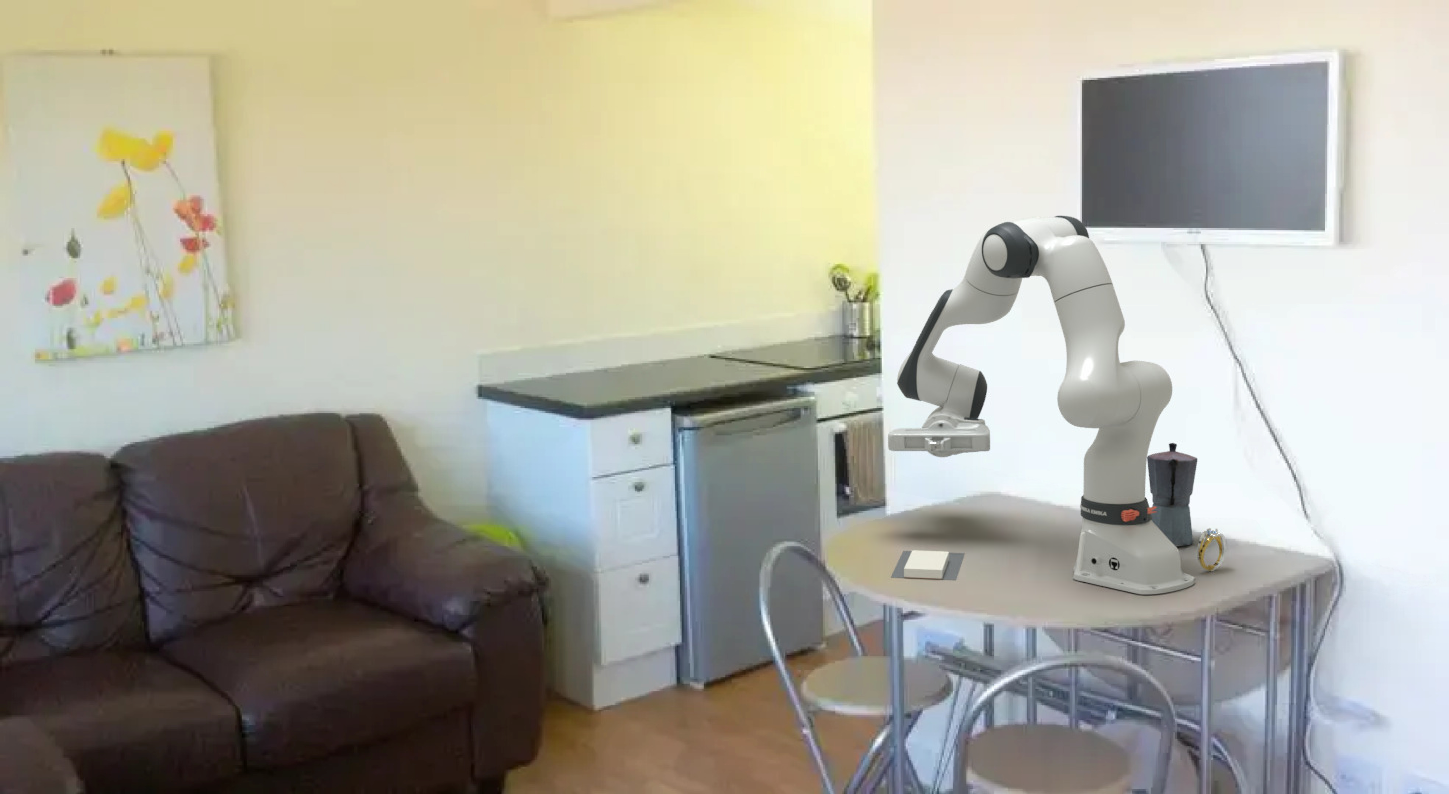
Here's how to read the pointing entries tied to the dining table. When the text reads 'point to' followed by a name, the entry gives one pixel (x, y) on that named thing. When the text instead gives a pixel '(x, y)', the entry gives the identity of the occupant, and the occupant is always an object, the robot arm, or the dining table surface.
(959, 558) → the mat
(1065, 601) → the dining table surface
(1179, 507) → the moka pot
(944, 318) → the robot arm
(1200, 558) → the ring
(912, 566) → the tile
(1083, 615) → the dining table surface
